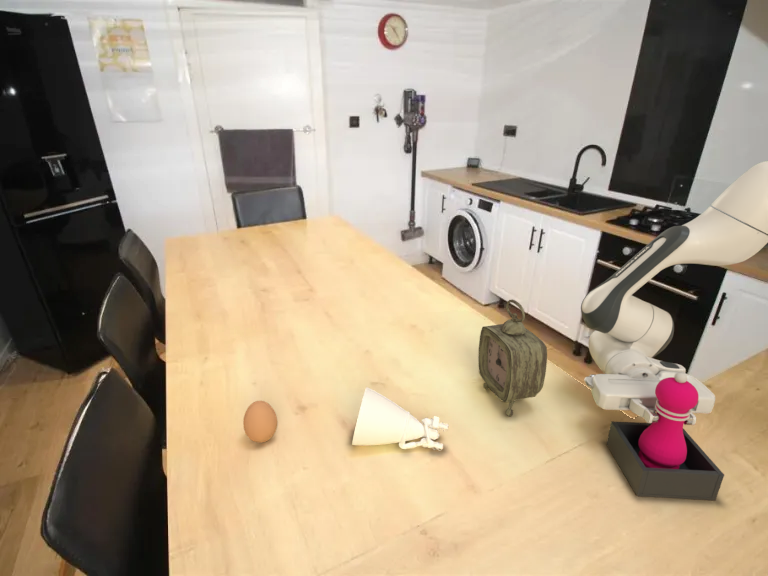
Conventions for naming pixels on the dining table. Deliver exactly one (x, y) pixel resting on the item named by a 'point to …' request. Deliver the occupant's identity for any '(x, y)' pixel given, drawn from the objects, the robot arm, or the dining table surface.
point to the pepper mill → (668, 424)
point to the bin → (684, 483)
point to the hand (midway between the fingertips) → (672, 421)
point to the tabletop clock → (512, 360)
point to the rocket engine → (392, 424)
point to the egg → (260, 421)
